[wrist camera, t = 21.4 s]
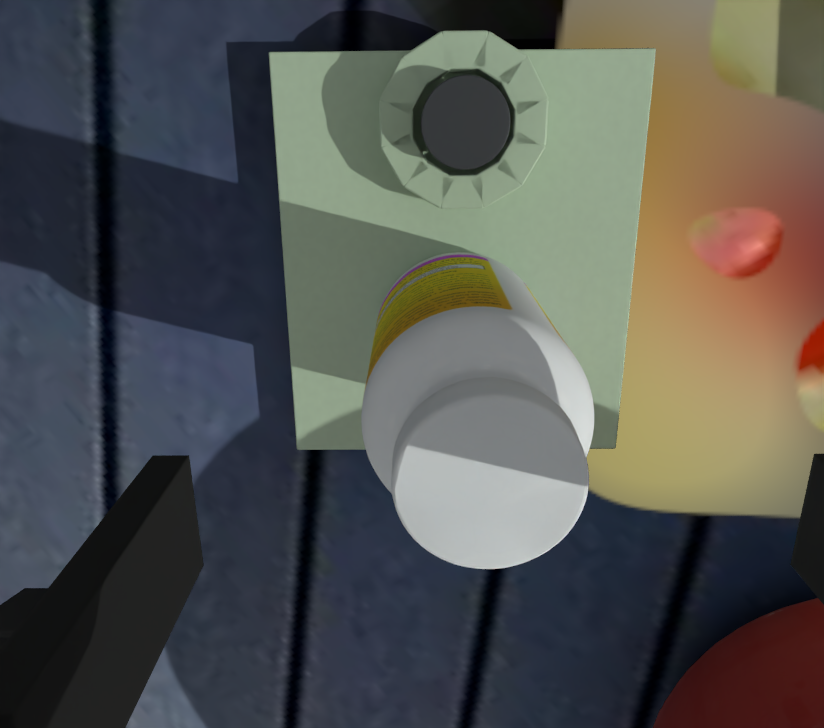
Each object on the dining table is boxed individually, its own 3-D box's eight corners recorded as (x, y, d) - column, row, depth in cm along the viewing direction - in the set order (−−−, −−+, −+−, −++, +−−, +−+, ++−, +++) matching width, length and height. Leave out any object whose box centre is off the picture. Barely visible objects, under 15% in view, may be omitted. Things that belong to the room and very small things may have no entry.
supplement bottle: (345, 347, 28) (291, 514, 16) (439, 215, 26) (458, 292, 14) (473, 432, 30) (513, 646, 17) (572, 312, 28) (692, 458, 16)
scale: (275, 42, 26) (257, 32, 23) (645, 38, 26) (674, 28, 23) (301, 436, 31) (290, 467, 28) (607, 435, 31) (626, 466, 28)
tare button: (420, 78, 24) (420, 75, 22) (506, 77, 24) (512, 74, 22) (420, 167, 25) (421, 170, 23) (503, 166, 25) (508, 169, 23)
